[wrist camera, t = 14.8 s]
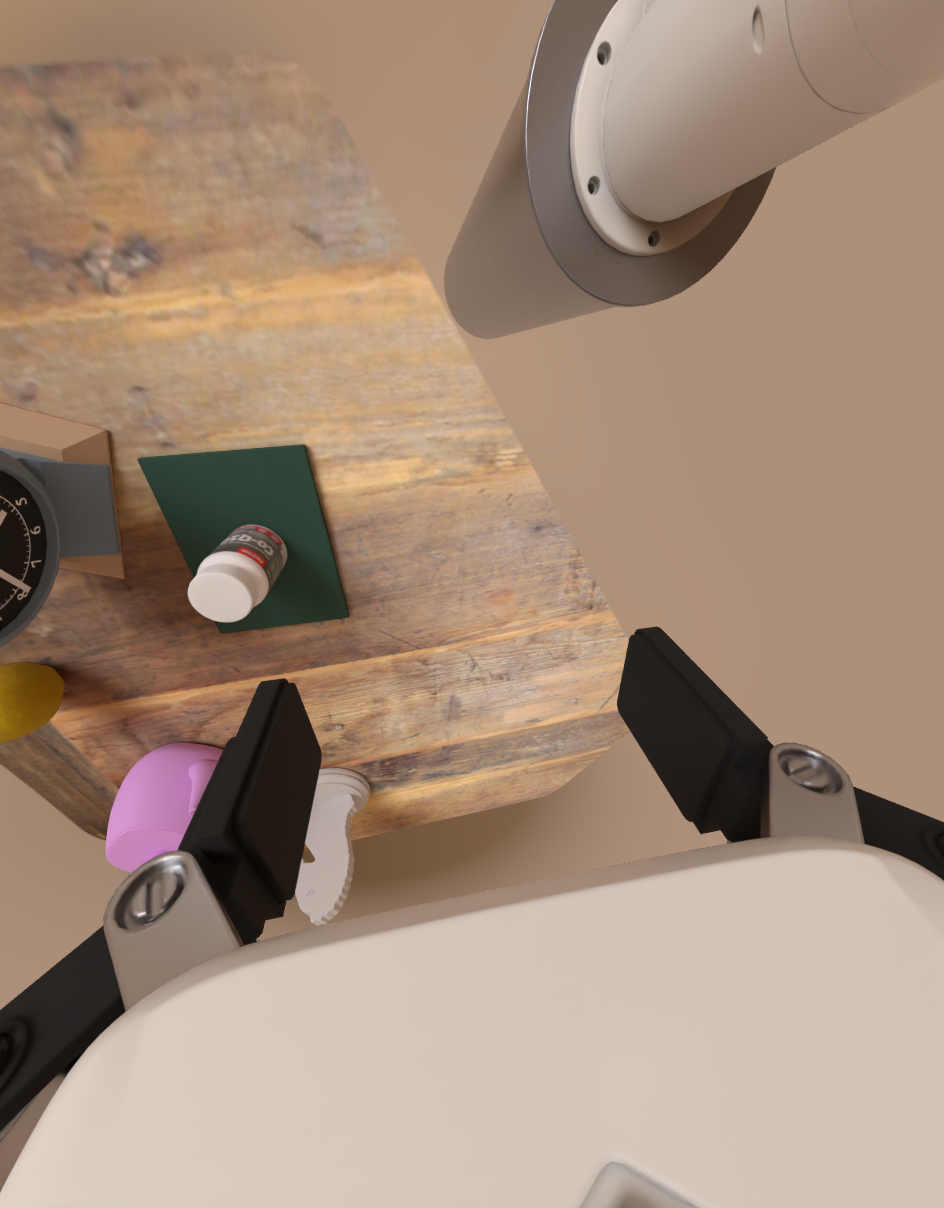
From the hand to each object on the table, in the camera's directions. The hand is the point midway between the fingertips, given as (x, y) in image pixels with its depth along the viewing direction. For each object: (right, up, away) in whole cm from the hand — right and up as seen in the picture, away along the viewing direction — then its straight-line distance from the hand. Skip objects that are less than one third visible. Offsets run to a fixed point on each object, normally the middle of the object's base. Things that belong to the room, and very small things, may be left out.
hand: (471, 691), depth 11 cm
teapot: (-32, -17, +36) cm, 51 cm away
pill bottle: (-18, +7, +23) cm, 30 cm away
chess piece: (-19, -22, +42) cm, 51 cm away
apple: (-41, -4, +26) cm, 49 cm away
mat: (-19, +7, +23) cm, 31 cm away
